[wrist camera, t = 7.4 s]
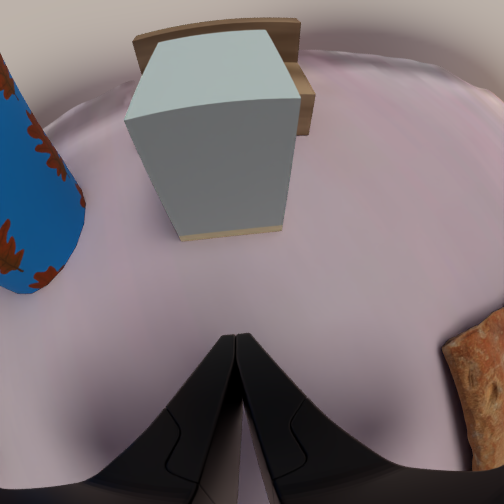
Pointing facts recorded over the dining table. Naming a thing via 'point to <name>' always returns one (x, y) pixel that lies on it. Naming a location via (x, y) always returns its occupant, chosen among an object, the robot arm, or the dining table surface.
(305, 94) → the wooden toy bench
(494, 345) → the brown rounded piece
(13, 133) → the thermos
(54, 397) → the dining table surface
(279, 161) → the cover
